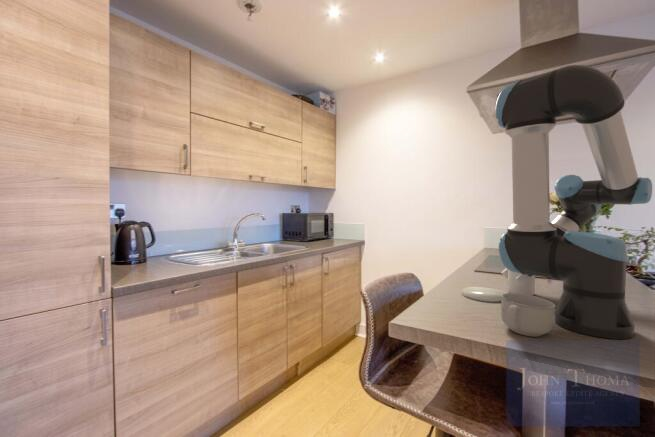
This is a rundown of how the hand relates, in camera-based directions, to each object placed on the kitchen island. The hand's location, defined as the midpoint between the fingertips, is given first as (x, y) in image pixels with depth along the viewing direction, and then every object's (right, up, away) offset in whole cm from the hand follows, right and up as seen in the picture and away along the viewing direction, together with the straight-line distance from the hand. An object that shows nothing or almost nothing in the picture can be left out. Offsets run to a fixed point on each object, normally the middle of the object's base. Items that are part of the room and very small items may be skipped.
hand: (511, 278), depth 107 cm
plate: (-11, -5, -3) cm, 13 cm away
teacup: (-18, -7, -34) cm, 39 cm away
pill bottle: (+3, -5, 0) cm, 6 cm away
